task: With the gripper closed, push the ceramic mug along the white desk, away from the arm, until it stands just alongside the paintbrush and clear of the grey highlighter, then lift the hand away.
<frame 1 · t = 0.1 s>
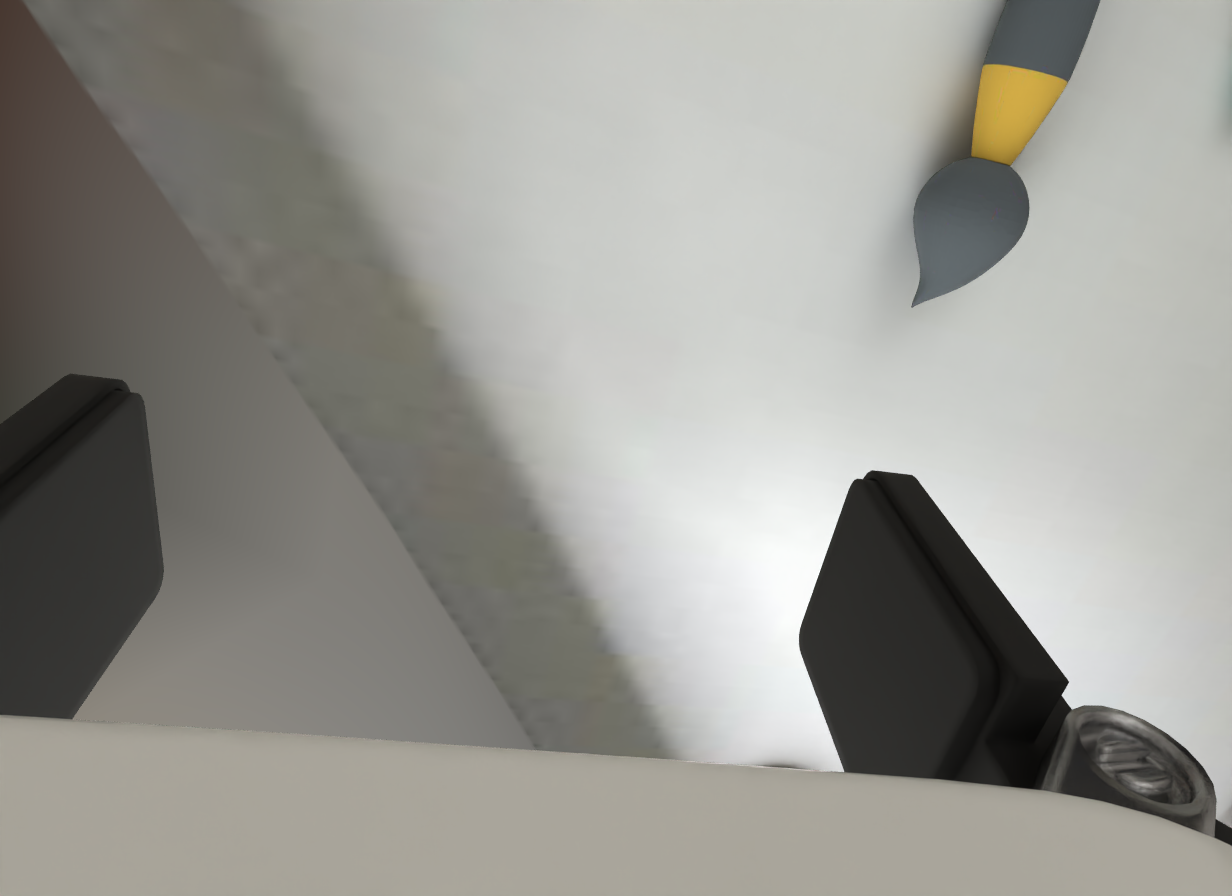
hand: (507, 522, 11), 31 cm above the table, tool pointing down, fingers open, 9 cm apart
paintbrush: (983, 91, 38), on the table
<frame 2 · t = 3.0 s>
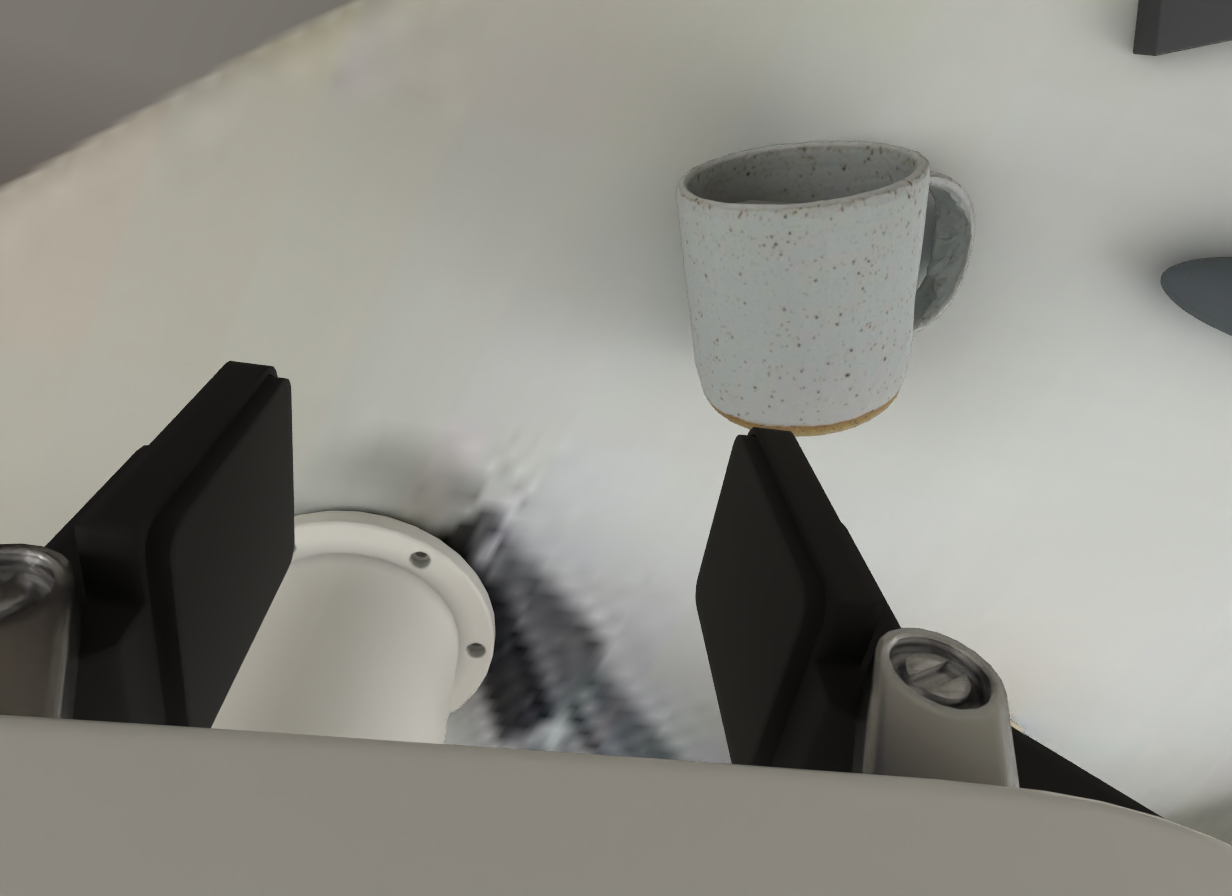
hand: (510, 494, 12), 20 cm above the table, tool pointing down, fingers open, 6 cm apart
ceramic mug: (808, 243, 30), on the table
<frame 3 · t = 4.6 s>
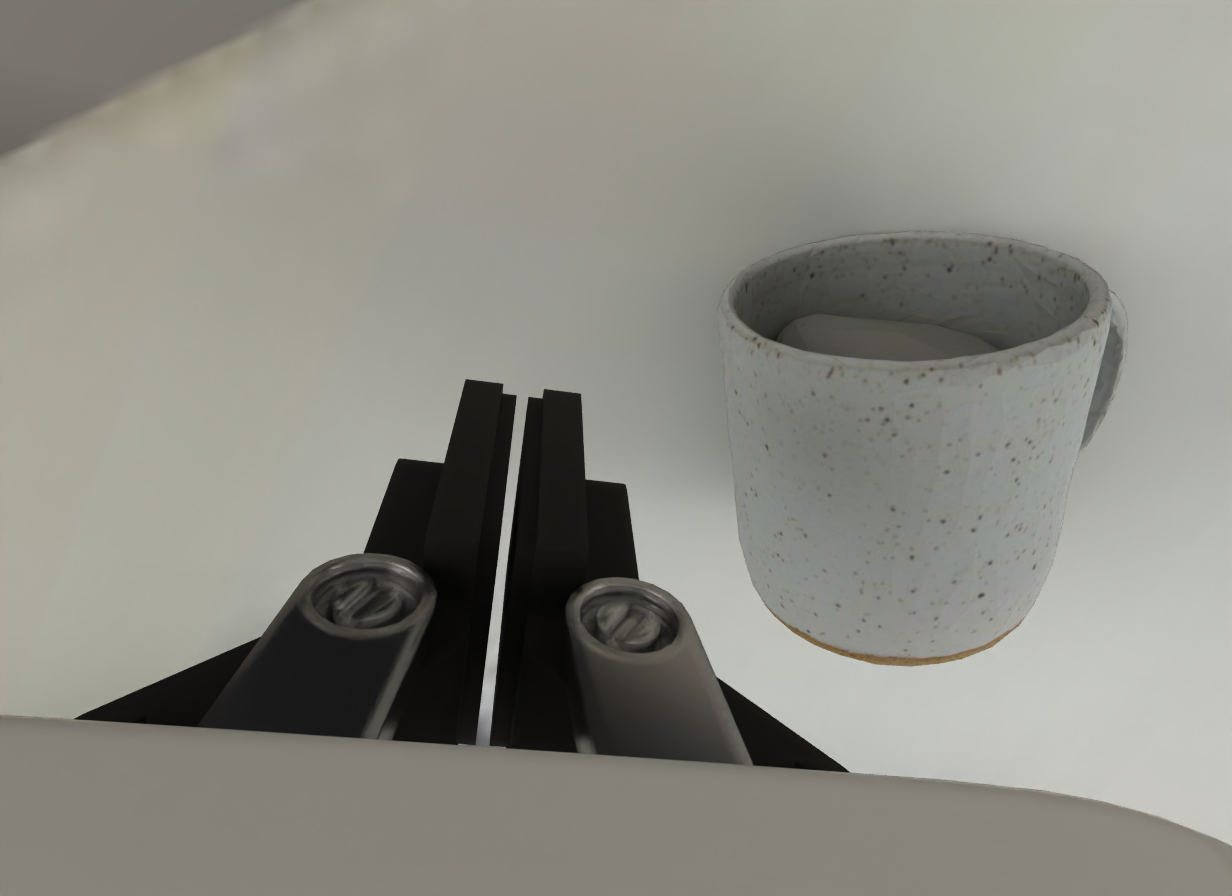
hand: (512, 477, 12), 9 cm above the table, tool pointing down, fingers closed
ceramic mug: (888, 361, 22), on the table
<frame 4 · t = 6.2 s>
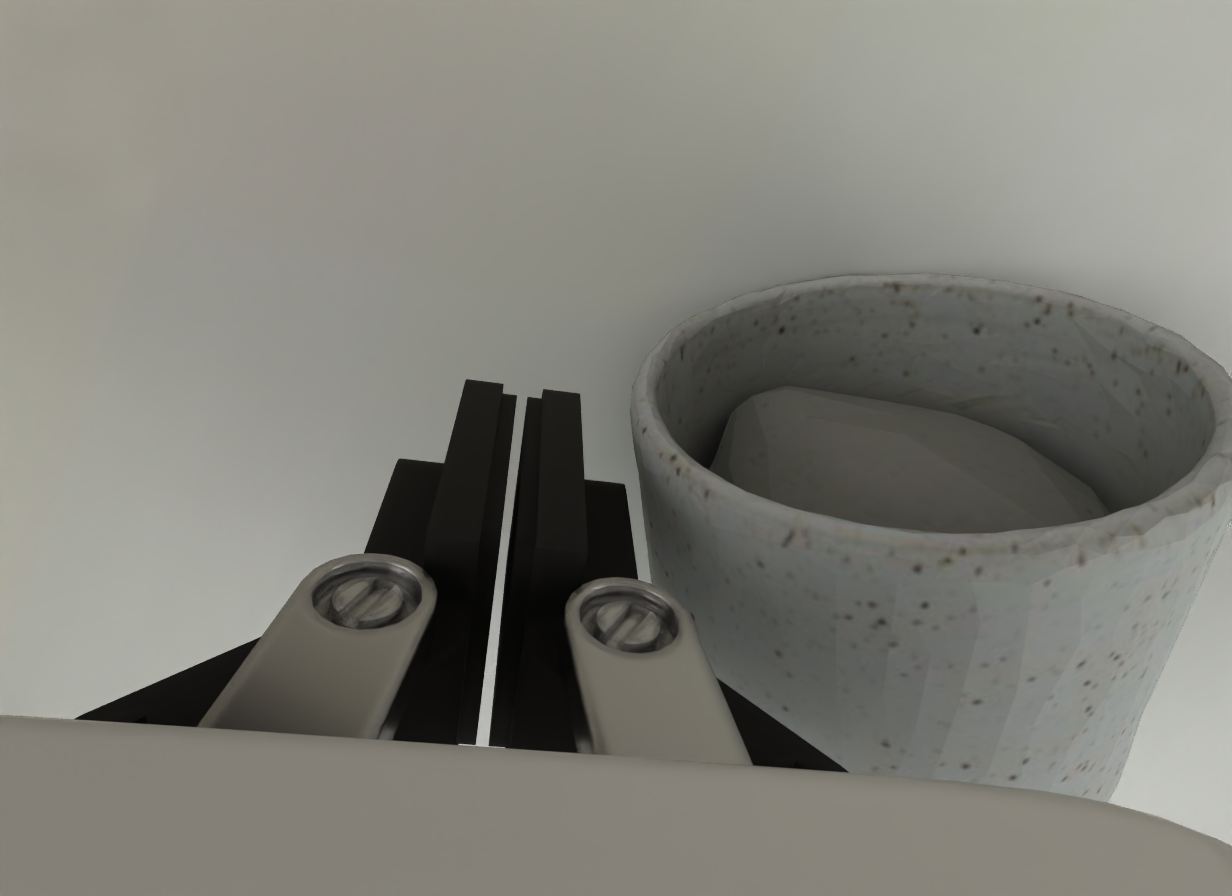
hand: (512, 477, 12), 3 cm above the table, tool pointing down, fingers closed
ceramic mug: (884, 444, 16), on the table, touching gripper
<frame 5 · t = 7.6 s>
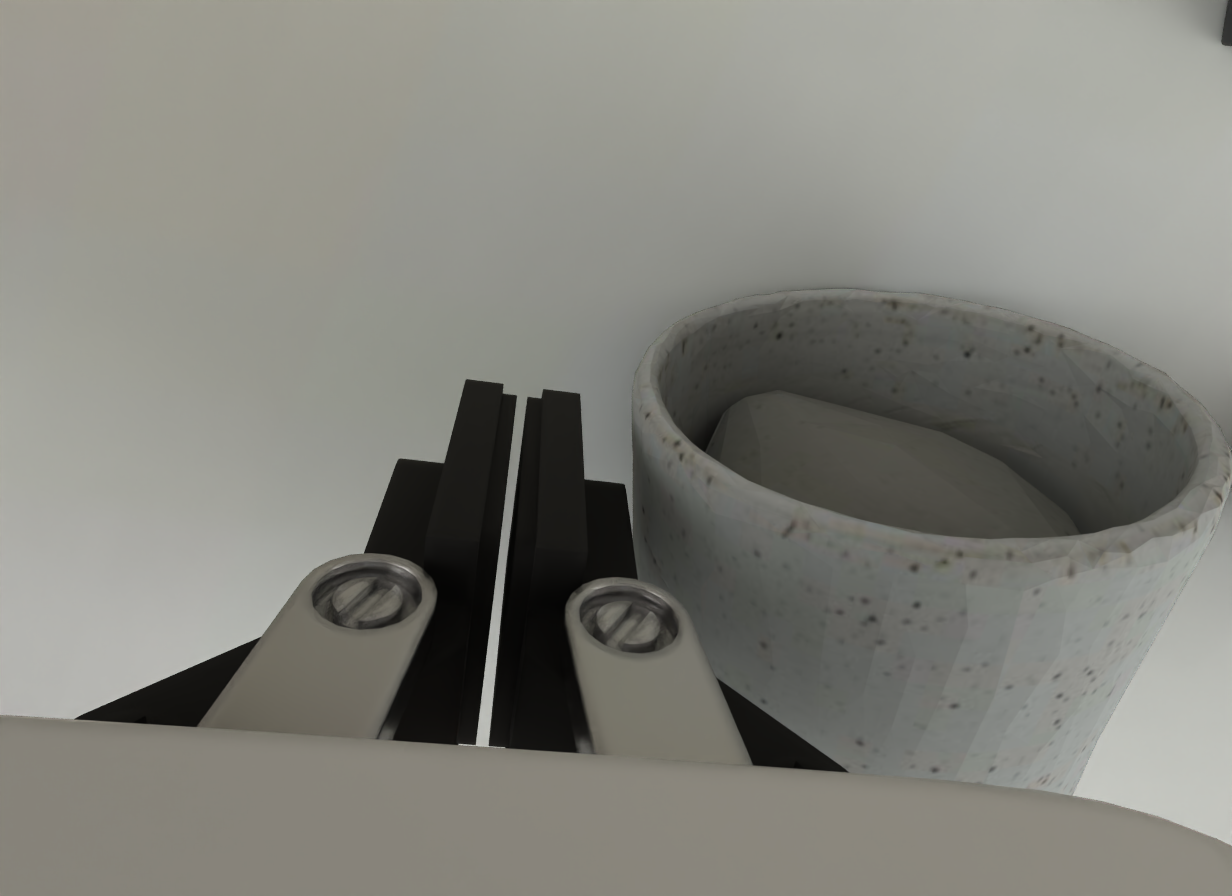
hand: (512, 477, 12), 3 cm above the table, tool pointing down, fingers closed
ceramic mug: (865, 459, 16), on the table, touching gripper
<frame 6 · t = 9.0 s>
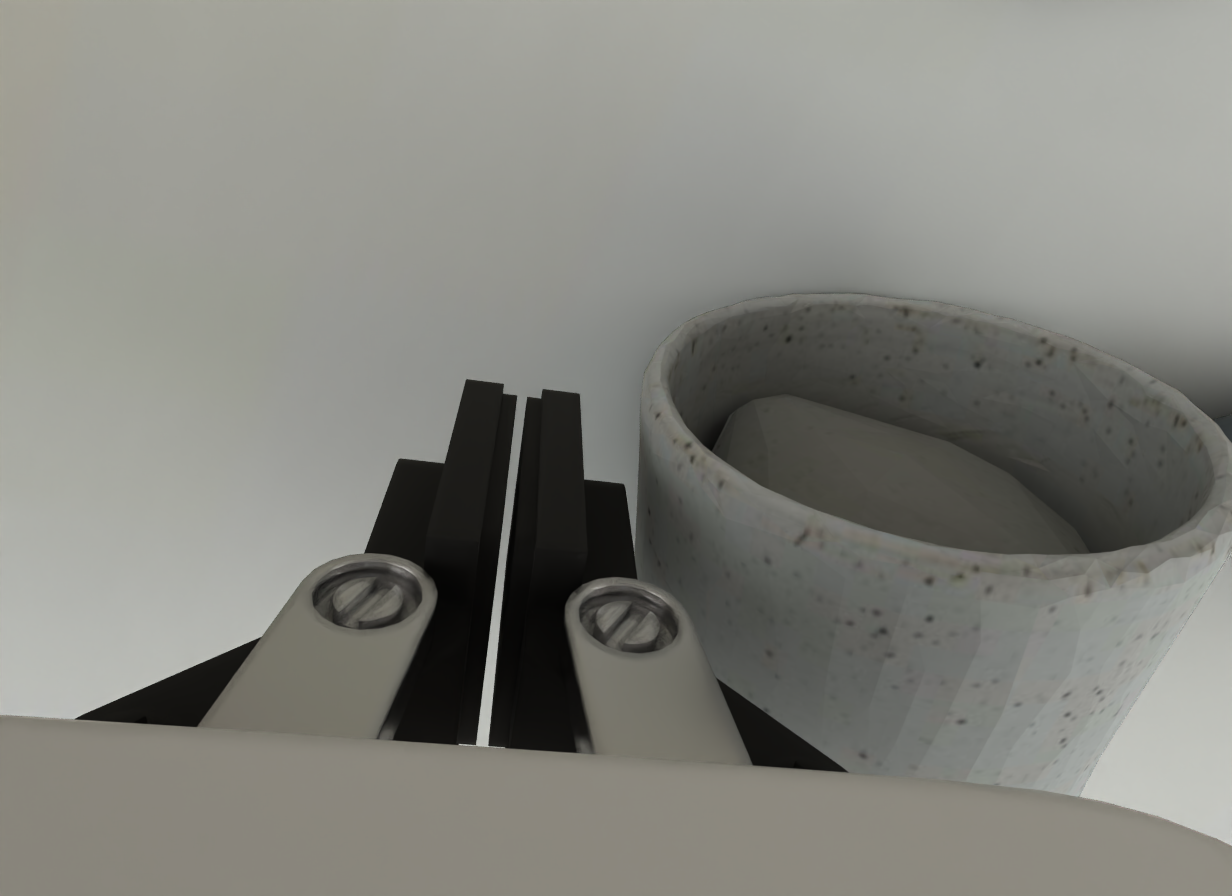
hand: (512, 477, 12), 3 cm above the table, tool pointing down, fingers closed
ceramic mug: (868, 466, 16), on the table, touching gripper, paintbrush
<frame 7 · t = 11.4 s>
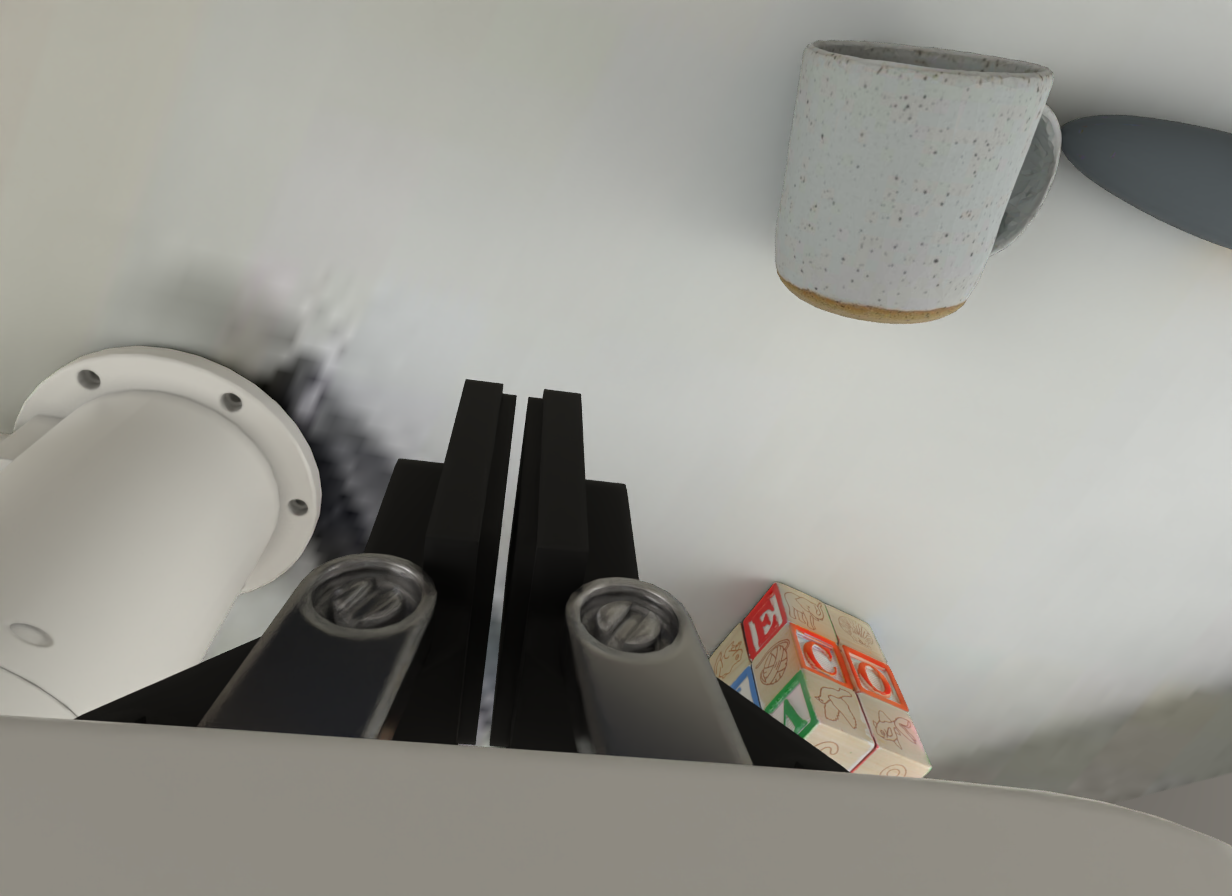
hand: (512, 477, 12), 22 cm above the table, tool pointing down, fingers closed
stack of blocks: (707, 725, 46), on the table
ceramic mug: (896, 153, 31), on the table
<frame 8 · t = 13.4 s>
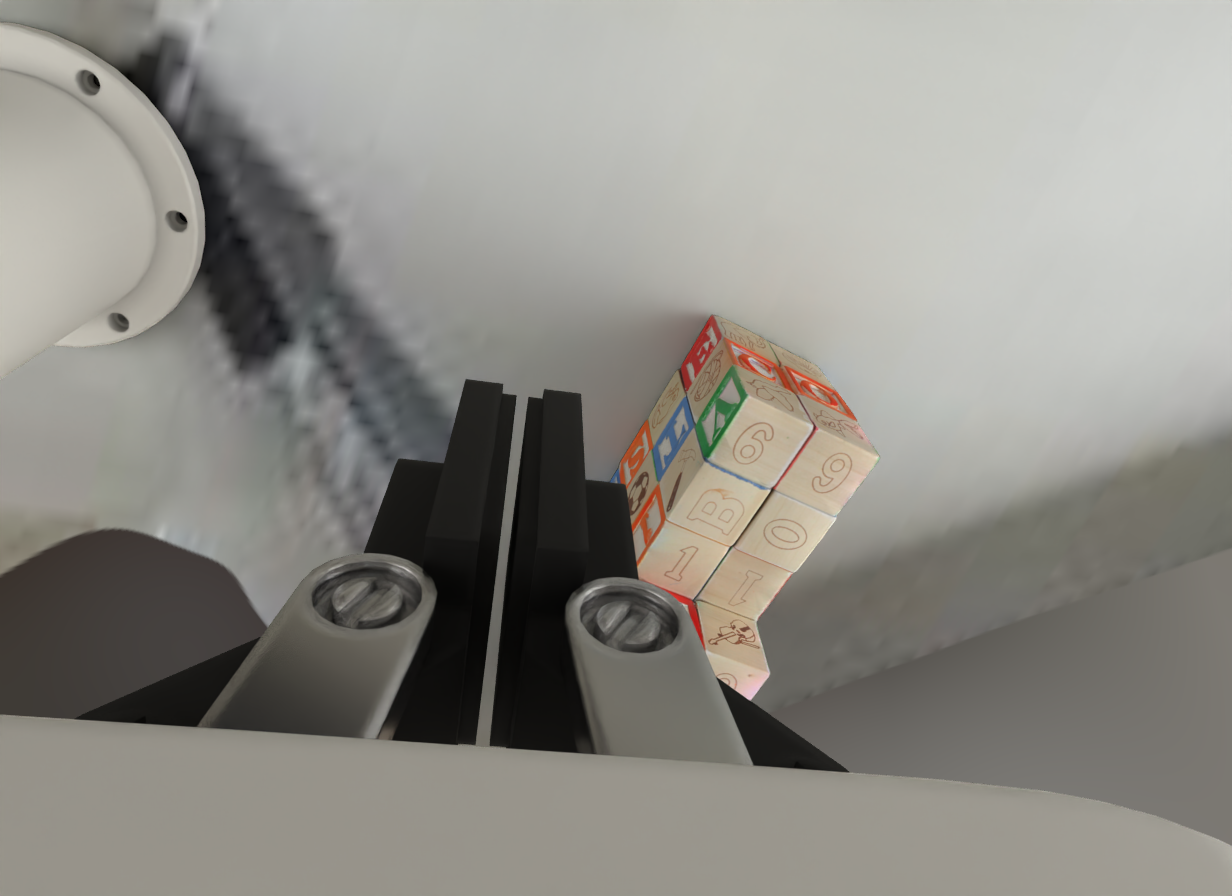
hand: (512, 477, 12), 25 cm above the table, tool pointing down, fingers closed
stack of blocks: (654, 506, 43), on the table
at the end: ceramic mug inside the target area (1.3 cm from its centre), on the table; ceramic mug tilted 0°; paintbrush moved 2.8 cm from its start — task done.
